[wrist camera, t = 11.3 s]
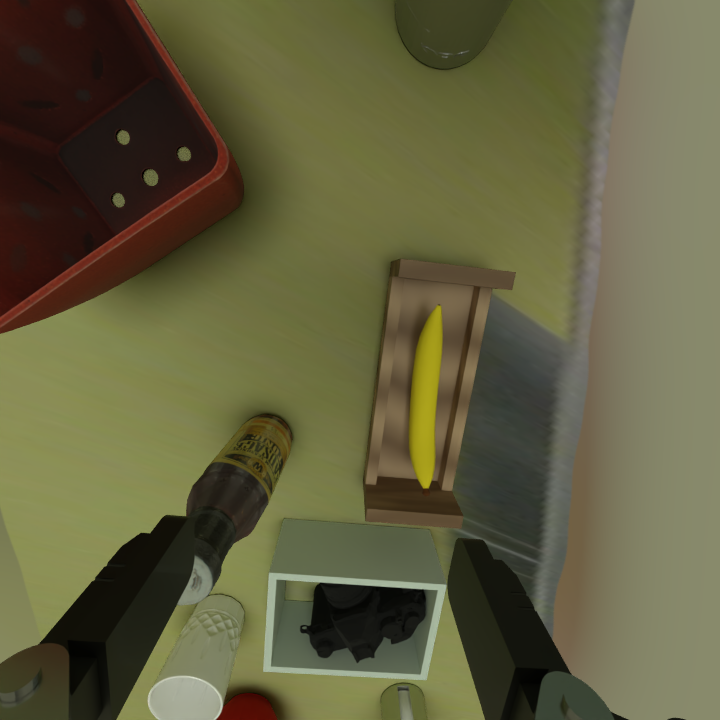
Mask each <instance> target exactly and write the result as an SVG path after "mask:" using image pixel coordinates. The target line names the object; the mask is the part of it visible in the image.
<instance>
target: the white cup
mask: <svg viewBox="0 0 720 720" xmlns="http://www.w3.org/2000/svg"><path fill="white" fill-rule="evenodd" d="M244 613H245V612H244V610H243V608H242V606H241V604H240V603H239V602H237V601H236V600H235V599H233V598H232V597H229V596H225V595H221V594H219V595H210V596H208V597H206V598H204V599H203V600H202V601H200V602H199V603H198V604H197V606H196V607H195V609H194V611H193V613H192V615H191V617H190V619H189V621H188V622H187V623H186V624H185V626H184V628H183V630H182V632H181V634H180V635H179V637H178V639H177V641H176V643H175V644H174V646H173V648H172V650H171V652H170V654H169V656H168V658H167V660H166V662H165V664H164V666H163V667H162V669H161V671H160V673H159V675H158V677H157V679H156V681H155V683H154V685H153V686H152V688H151V690H150V692H149V695H148V706H149V709H150V711H151V712H152V714H153V715H154V716H155V717H156V718H157V719H158V720H216V719H217V718H218V717H219V715H220V713H221V711H222V708H223V704H224V700H225V696H226V692H227V689H228V685H229V681H230V677H231V673H232V670H233V666H234V662H235V658H236V654H237V649H238V645H239V641H240V634H241V631H242V627H243V623H244Z"/></svg>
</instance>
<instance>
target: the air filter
mask: <svg viewBox="0 0 720 720" xmlns="http://www.w3.org/2000/svg"><path fill="white" fill-rule="evenodd" d="M381 712H382V720H428V717H427V712H426V706H425V700H424V695H423V693H422V691H421V690H420V689H419V688H418V687H416V686H414V685H412V684H408V683H401V684H396V685H393V686H391V687H389V688H387V689H386V690H385V691H384V693H383V695H382V696H381Z"/></svg>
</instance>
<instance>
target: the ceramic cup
mask: <svg viewBox="0 0 720 720" xmlns="http://www.w3.org/2000/svg"><path fill="white" fill-rule="evenodd" d="M216 720H277V717H276V715H275V713H274V711H273V709H272V706H271V704H270V702H269V701H268V700H267V699H266V698H264V697H263V696H261V695H258V694H254V693H244V694H240V695H237V696H235V697H233V698H232V699H231V700H230V701H229V702H228V703H227V704H226V705H224V706H223V708H222V711H221V713H220V715H219V717H218V718H217V719H216Z"/></svg>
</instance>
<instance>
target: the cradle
mask: <svg viewBox="0 0 720 720" xmlns="http://www.w3.org/2000/svg"><path fill="white" fill-rule="evenodd" d="M515 274H516V272H509V271H500V270H492V269H484V268H475V267H467V266H458V265H450V264H441V263H433V262H424V261H416V260H408V259H398V260H395V261H392V262H391V268H390V276H389V284H388V291H387V299H386V307H385V315H384V322H383V330H382V338H381V346H380V354H379V361H378V369H377V377H376V385H375V392H374V400H373V408H372V416H371V424H370V431H369V439H368V447H367V455H366V462H365V470H364V478H363V488H364V504H365V521H369V522H382V523H395V524H408V525H421V526H434V527H447V528H460V529H461V525H462V521H463V514H462V512H461V510H460V508H459V506H458V503H457V501H456V499H455V497H454V495H453V493H452V487H453V482H454V477H455V472H456V467H457V462H458V457H459V452H460V447H461V442H462V437H463V433H464V428H465V423H466V418H467V413H468V408H469V403H470V398H471V393H472V388H473V383H474V378H475V373H476V368H477V363H478V358H479V353H480V348H481V343H482V338H483V333H484V328H485V323H486V318H487V313H488V308H489V303H490V298H491V293H492V288H495V289H506V290H512V288H513V283H514V278H515ZM438 304H440V305H441V308H442V325H443V345H442V359H441V369H440V377H439V386H438V395H437V406H436V421H435V447H436V458H435V469H434V474H433V479H432V481H431V484H430V486H429V491H430V493H431V494H430V495H429V496H427V497H426V496H424V495H423V494H422V492H423V487H422V486H421V484H420V482H419V481H418V479H417V477H416V474H415V472H414V469H413V466H412V462H411V458H410V450H409V414H410V398H411V386H412V375H413V367H414V360H415V354H416V348H417V345H418V341H419V337H420V335H421V332H422V330H423V328H424V325H425V323H426V321H427V319H428V317H429V315H430V314H431V312H432V311H433V310H434V309H435V307H436V306H437V305H438Z"/></svg>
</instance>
